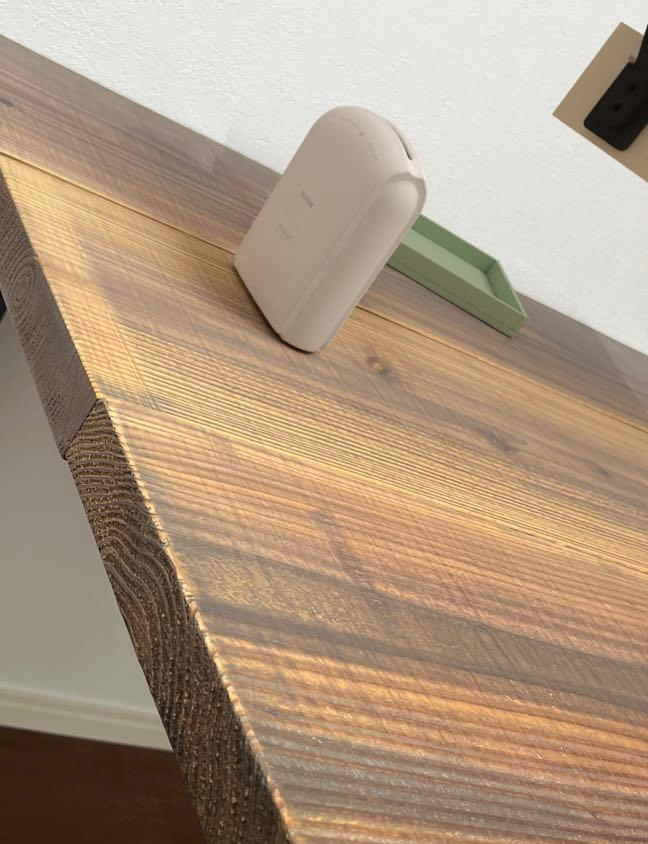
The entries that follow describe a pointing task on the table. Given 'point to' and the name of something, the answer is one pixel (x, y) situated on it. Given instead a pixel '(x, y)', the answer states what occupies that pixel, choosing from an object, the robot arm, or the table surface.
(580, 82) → the block
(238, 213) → the table surface
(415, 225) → the tray
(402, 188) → the photo printer
